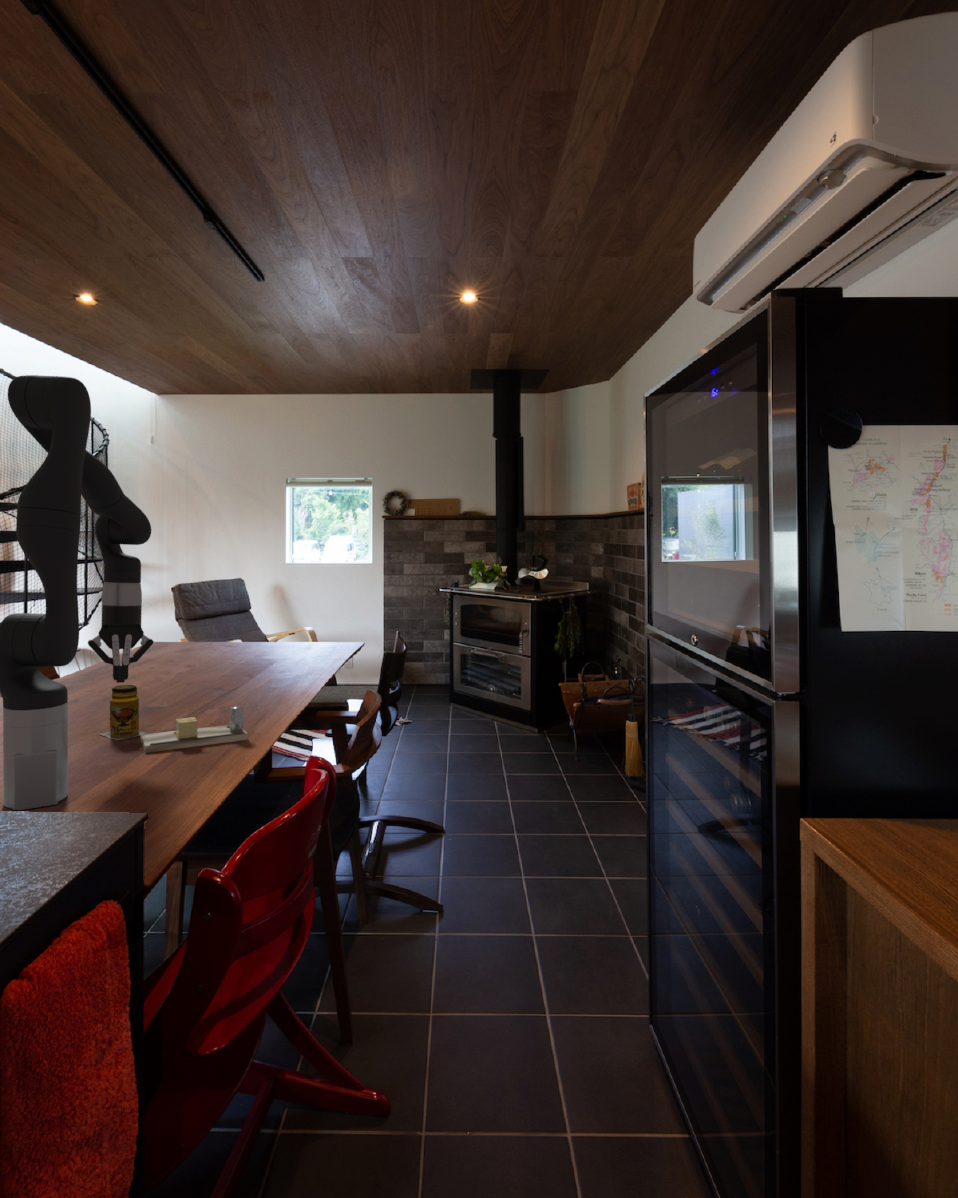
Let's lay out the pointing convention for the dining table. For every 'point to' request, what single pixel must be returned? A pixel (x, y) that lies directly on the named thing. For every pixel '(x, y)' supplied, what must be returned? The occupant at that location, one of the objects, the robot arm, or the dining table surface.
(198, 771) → the dining table surface
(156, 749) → the board
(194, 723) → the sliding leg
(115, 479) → the robot arm
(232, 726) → the silver cylinder with leg
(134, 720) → the condiment
